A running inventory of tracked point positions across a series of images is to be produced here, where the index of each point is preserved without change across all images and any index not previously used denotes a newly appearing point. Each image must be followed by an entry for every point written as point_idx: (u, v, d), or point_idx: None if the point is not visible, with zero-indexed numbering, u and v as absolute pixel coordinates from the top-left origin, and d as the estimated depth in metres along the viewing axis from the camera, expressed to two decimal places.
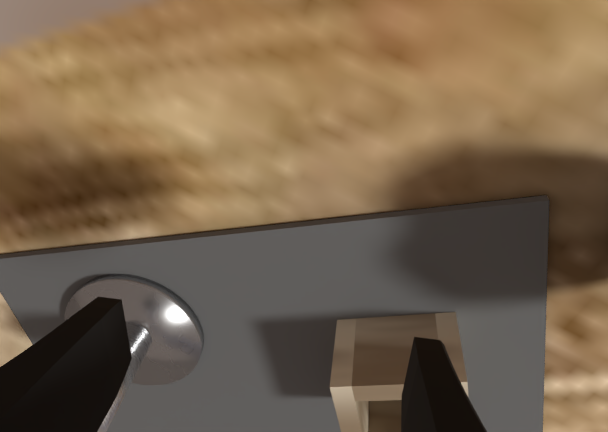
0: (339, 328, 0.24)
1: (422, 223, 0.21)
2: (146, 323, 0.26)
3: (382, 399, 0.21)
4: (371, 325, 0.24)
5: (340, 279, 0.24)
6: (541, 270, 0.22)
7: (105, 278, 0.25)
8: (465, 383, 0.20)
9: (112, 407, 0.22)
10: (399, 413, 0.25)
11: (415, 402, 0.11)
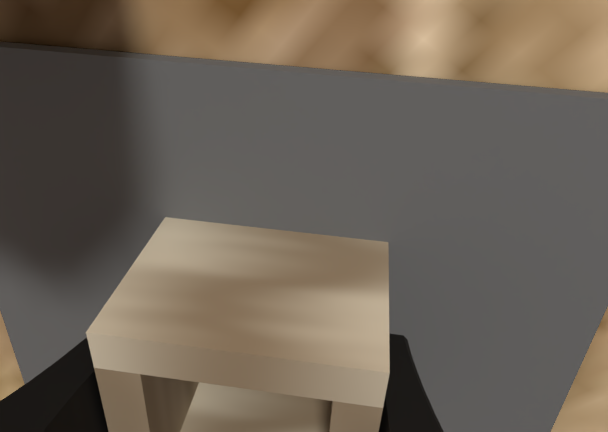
0: None
1: None
2: None
3: None
4: None
5: None
6: (60, 63, 0.11)
7: None
8: (90, 336, 0.09)
9: None
10: None
11: None
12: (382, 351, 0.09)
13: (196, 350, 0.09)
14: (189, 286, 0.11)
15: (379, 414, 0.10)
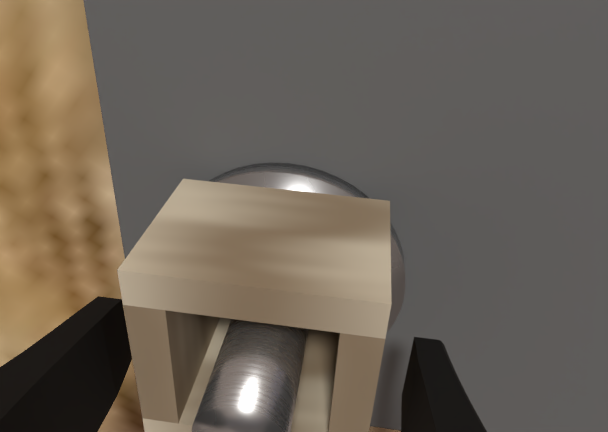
0: None
1: None
2: None
3: (175, 389, 0.12)
4: None
5: None
6: None
7: None
8: (121, 273, 0.10)
9: (248, 372, 0.11)
10: None
11: (415, 402, 0.11)
12: (385, 287, 0.10)
13: (217, 286, 0.10)
14: (208, 234, 0.12)
15: (382, 345, 0.11)
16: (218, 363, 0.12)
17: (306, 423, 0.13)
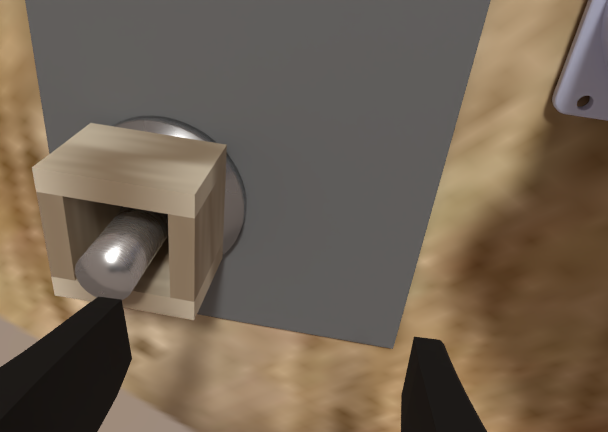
0: None
1: None
2: None
3: (71, 254, 0.19)
4: None
5: None
6: None
7: None
8: (34, 170, 0.17)
9: (113, 238, 0.18)
10: None
11: (415, 402, 0.11)
12: (195, 187, 0.17)
13: (92, 179, 0.17)
14: (96, 154, 0.18)
15: (193, 222, 0.17)
16: (98, 236, 0.18)
17: (160, 286, 0.20)
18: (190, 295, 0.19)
